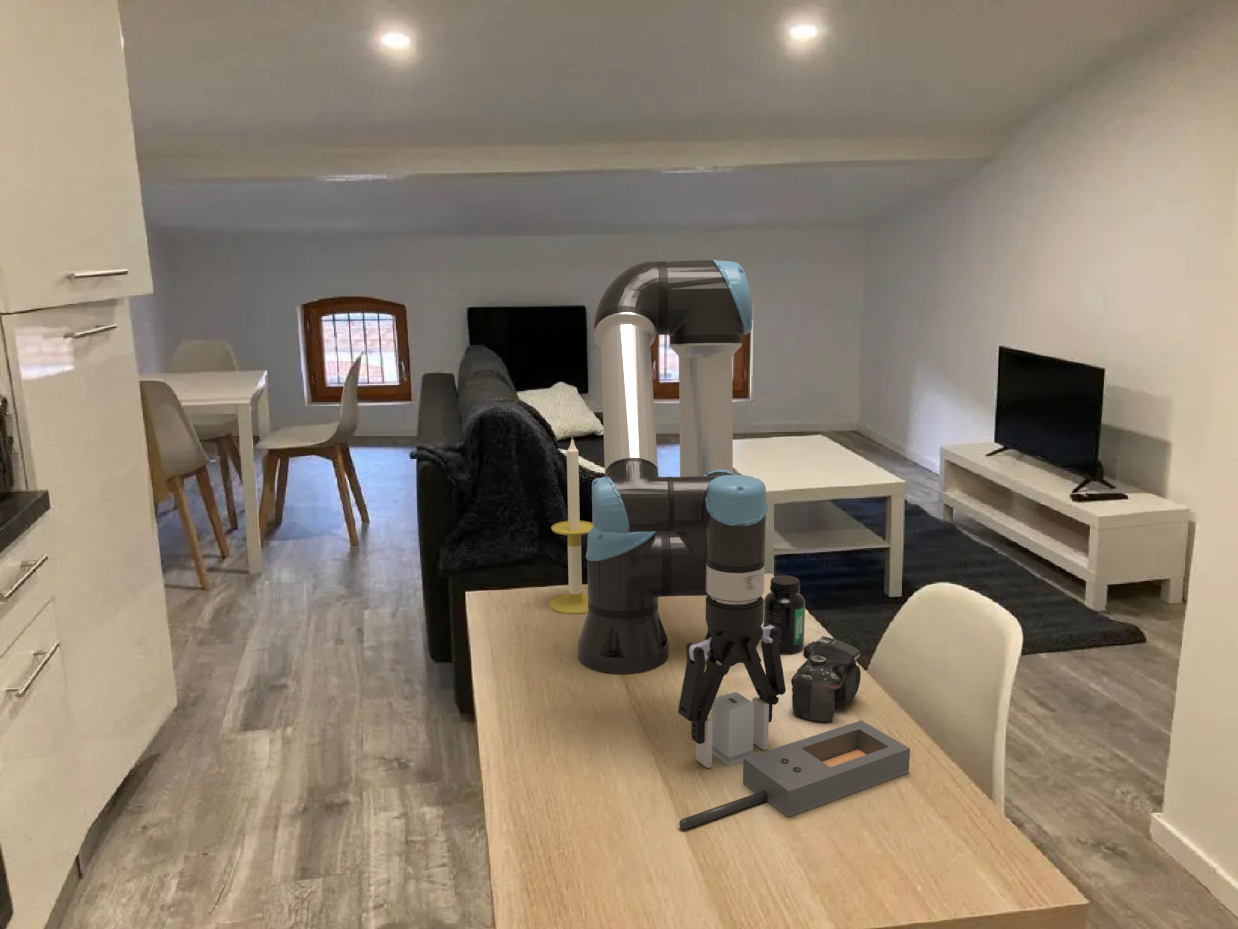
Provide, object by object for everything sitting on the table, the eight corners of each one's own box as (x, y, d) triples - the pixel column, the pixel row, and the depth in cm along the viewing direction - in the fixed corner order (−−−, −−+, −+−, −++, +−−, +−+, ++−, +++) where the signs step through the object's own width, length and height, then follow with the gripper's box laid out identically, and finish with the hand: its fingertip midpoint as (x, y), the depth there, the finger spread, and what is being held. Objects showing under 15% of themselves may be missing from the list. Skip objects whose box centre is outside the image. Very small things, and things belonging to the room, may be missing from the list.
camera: (860, 728, 143) (863, 662, 141) (789, 721, 145) (791, 657, 143) (858, 687, 156) (861, 627, 154) (793, 682, 158) (795, 622, 156)
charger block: (710, 752, 137) (711, 698, 135) (735, 745, 139) (736, 691, 137) (728, 766, 133) (729, 710, 131) (753, 758, 135) (754, 702, 133)
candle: (612, 603, 192) (610, 436, 184) (575, 618, 185) (571, 445, 177) (576, 591, 198) (573, 429, 191) (538, 605, 191) (533, 437, 184)
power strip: (701, 849, 115) (701, 821, 115) (659, 811, 123) (659, 784, 122) (908, 773, 131) (910, 747, 130) (860, 743, 139) (861, 719, 138)
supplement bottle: (809, 653, 168) (811, 585, 166) (769, 656, 167) (771, 588, 165) (796, 637, 175) (798, 572, 172) (758, 640, 174) (759, 574, 171)
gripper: (682, 620, 122) (681, 788, 128) (817, 589, 133) (811, 745, 138) (649, 601, 129) (649, 762, 134) (781, 573, 139) (777, 723, 144)
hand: (732, 753), depth 136 cm, fingers open, 9 cm apart
